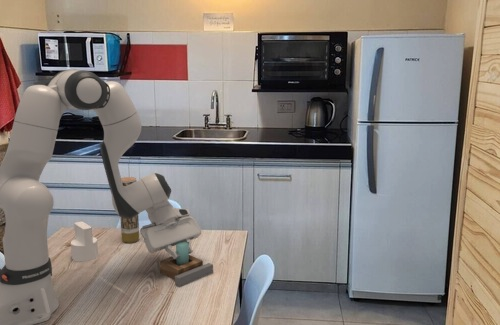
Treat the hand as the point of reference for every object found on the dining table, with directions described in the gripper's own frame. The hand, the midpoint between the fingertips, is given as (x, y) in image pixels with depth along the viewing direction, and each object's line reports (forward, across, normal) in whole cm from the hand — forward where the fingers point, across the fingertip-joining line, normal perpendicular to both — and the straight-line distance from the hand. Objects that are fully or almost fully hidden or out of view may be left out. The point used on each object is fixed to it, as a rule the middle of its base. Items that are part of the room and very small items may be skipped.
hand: (183, 255), depth 152 cm
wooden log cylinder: (-23, +5, +34) cm, 42 cm away
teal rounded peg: (+3, 0, +4) cm, 4 cm away
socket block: (+3, 0, +6) cm, 7 cm away
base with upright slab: (-22, -15, +33) cm, 42 cm away
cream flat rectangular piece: (+3, 0, +8) cm, 8 cm away
